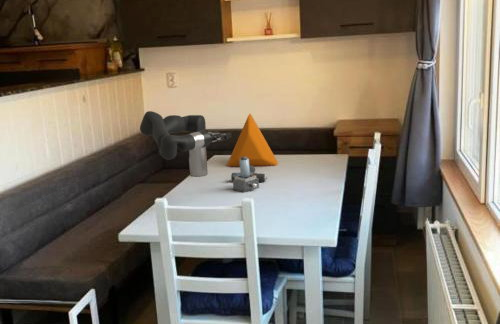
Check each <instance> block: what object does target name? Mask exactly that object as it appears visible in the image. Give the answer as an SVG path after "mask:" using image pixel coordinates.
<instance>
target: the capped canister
mask: <svg viewBox="0 0 500 324" xmlns="http://www.w3.org/2000/svg"><path fill="white" fill-rule="evenodd" d="M239 170H240V171H239V173H240V174H241V178H248V177H250V169H249V159H248V158H247V157H246V156H243V157H241V159H240V166H239Z"/></svg>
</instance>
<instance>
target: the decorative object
mask: <svg viewBox="0 0 500 324" xmlns="http://www.w3.org/2000/svg"><path fill="white" fill-rule="evenodd" d="M243 156H246V157H247V158H248V159H249V165H252V166H254V167H263V166H264V167H266V166H267V167H268V166H269V167H270V166H278V165H279V162H278V160H277V158H276V156H275V155H274V153H273V151H272V150H271V147H270V146H269V143H268V142H267V140H266V139H265V137H264V135H263V133H262V132H261V129H260V128H259V126H258V124H257V122H256V121H255V119H254V116H253V115H252V114H251V113H249V114H247V117H246V120H245V123H244V125H243V127H242V129H241V131H240V134H239V136H238V138H237V141H236V144H235V145H234V148H233V150H232V153H231V154H230V157H229V159H228V161H227V165H226V167H231V168H232V167H240V159H241V157H243Z"/></svg>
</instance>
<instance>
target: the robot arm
mask: <svg viewBox="0 0 500 324" xmlns="http://www.w3.org/2000/svg"><path fill="white" fill-rule="evenodd" d="M206 127H207V126H206V119H205V117H204V115H202V114H201V115H200V114H195V115H193V114H191V115H190V114H189V115H184V116H181V115H173V114H172V115H170V114H169V115H167V116H165V117H164V118H163V116H162V115H161V114H159V113H158V112H155V111H153V110H151V111H150V110H148V111H146V112H145V113H144V114H143V117H142V119H141V123H140V126H139V130H140V133H141V134H143V135H145V136H147V137H148V136H149V137H153V140H154V142H155V143H156V145H157V148H158V153H159V155H160V157H162V158H163V159H164V160H170V161H171V160H173V159H175V158H176V156H177V155H178V154H177V153H178V150H179V151H180V152H183V153H185V152H189V157H188V163H189V174H190V176H192V177H203V176H206V175H208V172H209V171H208V159H207V147H209V146H210V145H211V143H215V142H216V143H220V142H223V141H228V139H230V138H232V132H226V133H221V132H220V131H219V130H216V131H207V130H206ZM181 132H187V134H185V135H172V134H179V133H181ZM189 132H190V133H189ZM188 133H189V134H188Z"/></svg>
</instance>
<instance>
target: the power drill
mask: <svg viewBox="0 0 500 324" xmlns="http://www.w3.org/2000/svg"><path fill="white" fill-rule="evenodd" d="M255 167H256V166H252V165H249V169H250V174H251V175H256V178H259V183H262V182H263V183H264V182H266V181H267V179H268V175H266V174H265V173H257V172H256V168H255ZM239 175H241V174H240V172H232V173H231V175H230V177H231V182H232V183H233V180H235V177H236V176H239Z"/></svg>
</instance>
